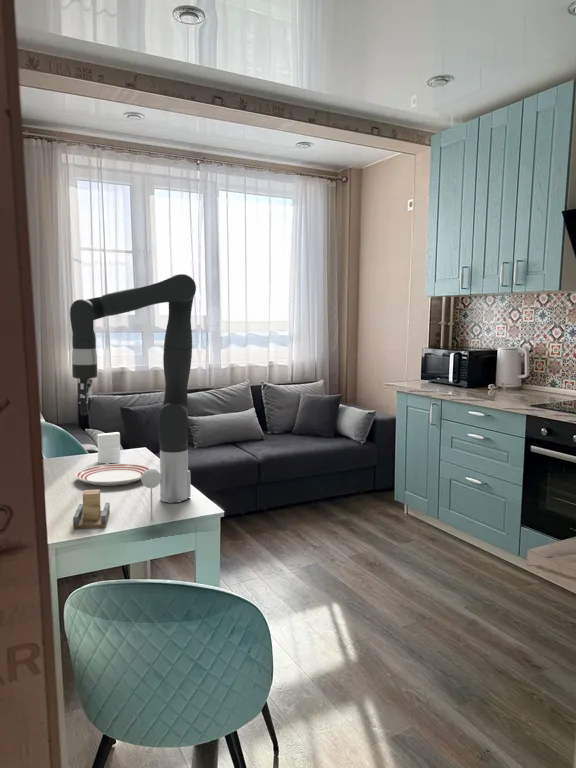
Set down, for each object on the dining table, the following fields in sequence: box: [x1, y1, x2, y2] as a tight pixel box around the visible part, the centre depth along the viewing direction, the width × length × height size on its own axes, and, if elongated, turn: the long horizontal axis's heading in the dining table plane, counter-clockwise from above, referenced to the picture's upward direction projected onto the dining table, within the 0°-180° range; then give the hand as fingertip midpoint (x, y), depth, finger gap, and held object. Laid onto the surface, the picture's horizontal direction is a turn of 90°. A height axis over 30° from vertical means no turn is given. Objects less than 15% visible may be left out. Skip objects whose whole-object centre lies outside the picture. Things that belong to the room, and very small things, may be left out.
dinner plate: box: [74, 463, 151, 487], centre depth 210 cm, size 28×27×3 cm
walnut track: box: [72, 502, 111, 530], centre depth 167 cm, size 12×9×4 cm
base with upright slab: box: [97, 431, 121, 465], centre depth 236 cm, size 9×9×12 cm
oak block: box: [82, 489, 102, 521], centre depth 166 cm, size 4×4×8 cm
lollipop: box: [140, 468, 162, 517], centre depth 171 cm, size 6×6×15 cm
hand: (85, 413), depth 179 cm, fingers open, 8 cm apart
